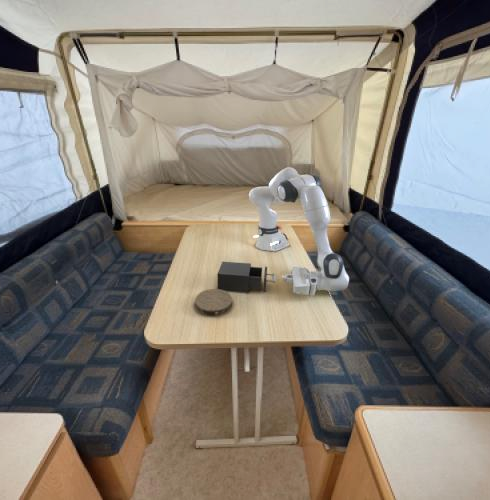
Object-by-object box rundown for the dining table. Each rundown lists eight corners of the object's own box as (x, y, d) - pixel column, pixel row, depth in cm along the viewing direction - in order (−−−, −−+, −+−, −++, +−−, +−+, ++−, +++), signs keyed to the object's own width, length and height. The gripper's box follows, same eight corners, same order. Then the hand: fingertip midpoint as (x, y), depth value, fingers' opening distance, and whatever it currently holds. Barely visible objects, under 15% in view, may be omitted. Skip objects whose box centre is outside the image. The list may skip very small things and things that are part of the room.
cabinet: (250, 279, 137) (251, 263, 133) (248, 292, 125) (248, 276, 121) (222, 276, 138) (222, 261, 134) (217, 290, 127) (217, 273, 123)
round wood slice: (235, 296, 122) (235, 291, 121) (226, 319, 108) (226, 313, 107) (202, 292, 125) (202, 286, 124) (189, 313, 111) (189, 307, 110)
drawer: (274, 280, 134) (275, 267, 131) (274, 292, 124) (275, 279, 121) (240, 277, 136) (240, 264, 133) (237, 289, 126) (237, 276, 123)
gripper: (310, 263, 133) (282, 261, 135) (315, 286, 115) (283, 283, 116) (308, 274, 136) (281, 272, 137) (313, 298, 117) (282, 295, 119)
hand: (282, 277), depth 127 cm, fingers closed
